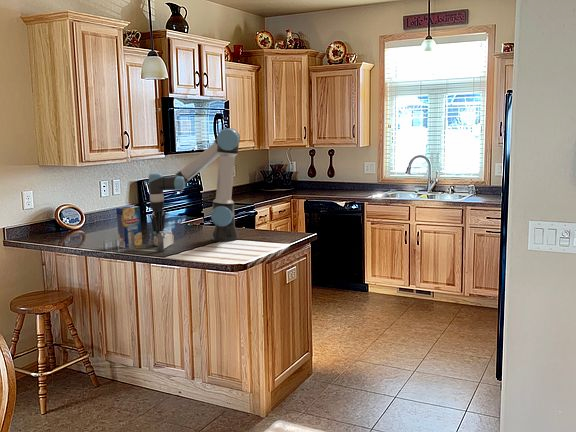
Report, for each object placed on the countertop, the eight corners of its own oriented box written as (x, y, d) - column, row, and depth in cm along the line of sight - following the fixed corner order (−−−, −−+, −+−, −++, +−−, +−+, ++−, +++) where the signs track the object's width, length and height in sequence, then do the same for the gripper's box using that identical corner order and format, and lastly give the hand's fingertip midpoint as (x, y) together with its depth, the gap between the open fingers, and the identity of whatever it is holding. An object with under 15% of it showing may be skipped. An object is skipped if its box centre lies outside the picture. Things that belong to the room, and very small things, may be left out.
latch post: (135, 249, 321) (134, 231, 319) (131, 250, 318) (130, 232, 316) (132, 249, 321) (131, 231, 320) (129, 250, 319) (127, 232, 317)
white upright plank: (164, 249, 315) (163, 236, 313) (160, 249, 315) (159, 236, 314) (172, 243, 329) (171, 231, 328) (169, 243, 330) (168, 231, 328)
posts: (165, 251, 314) (163, 233, 312) (161, 252, 311) (160, 234, 309) (135, 249, 321) (134, 231, 319) (132, 250, 318) (131, 232, 316)
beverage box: (142, 244, 334) (139, 206, 330) (125, 248, 326) (122, 209, 322) (135, 243, 338) (133, 205, 335) (118, 246, 330) (116, 208, 327)
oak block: (174, 243, 336) (173, 234, 335) (166, 246, 328) (165, 237, 327) (162, 242, 338) (161, 234, 338) (154, 245, 331) (153, 236, 330)
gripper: (157, 199, 332) (160, 240, 336) (144, 202, 320) (147, 244, 324) (169, 199, 330) (171, 240, 333) (156, 202, 318) (158, 245, 321)
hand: (159, 242), depth 329 cm, fingers closed
